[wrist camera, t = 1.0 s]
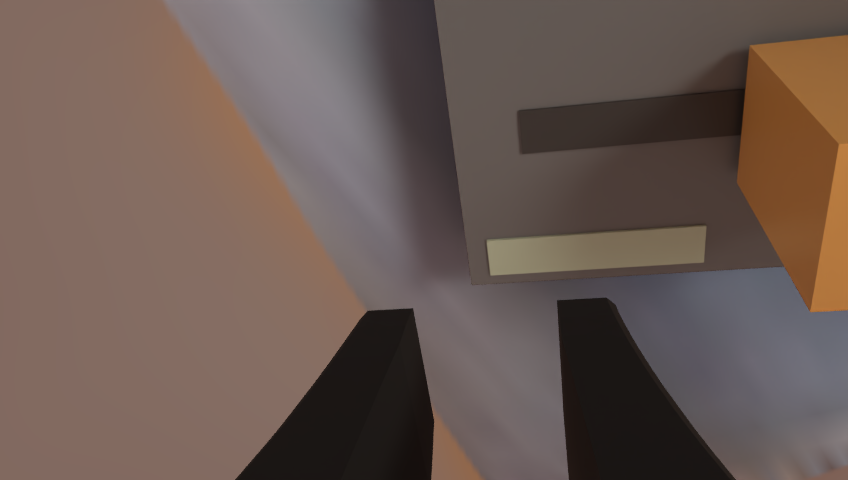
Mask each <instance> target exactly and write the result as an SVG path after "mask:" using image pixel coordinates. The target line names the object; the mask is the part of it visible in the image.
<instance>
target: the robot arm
mask: <svg viewBox="0 0 848 480" xmlns="http://www.w3.org/2000/svg"><path fill="white" fill-rule="evenodd" d="M557 307H558V324H559V341H560V359H561V376H562V393H563V411H564V425H565V437H566V449H567V461H568V473H569V480H736V479H735V478H734V477H733V476H732V474H731V473H730V472H729V471H728V470H727V468H726V467H725V466H724V465H723V464H722V462H721V461H720V460H719V459H718V458H717V456H716V455H715V454H714V453H713V452H712V450H711V449H710V448H709V447H708V445H707V444H706V443H705V441H704V440H703V439H702V438H701V436H700V435H699V434H698V432H697V431H696V430H695V429H694V427H693V426H692V425H691V423H690V422H689V421H688V419H687V418H686V416H685V415H684V414H683V412H682V411H681V410H680V408H679V407H678V406H677V404H676V403H675V401H674V400H673V399H672V397H671V396H670V395H669V393H668V392H667V390H666V389H665V388H664V386H663V385H662V383H661V382H660V380H659V379H658V377H657V376H656V375H655V373H654V372H653V370H652V369H651V367H650V365H649V364H648V362H647V361H646V359H645V358H644V356H643V354H642V353H641V351H640V350H639V348H638V346H637V345H636V343H635V341H634V340H633V338H632V336H631V335H630V333H629V331H628V329H627V328H626V326H625V324H624V322H623V320H622V318H621V316H620V314H619V312H618V310H617V307H616V305H615V304H614V303H612V302H611V301H610V300H609V299H607V298H593V299H575V300H557ZM433 431H434V419H433V412H432V407H431V402H430V396H429V391H428V386H427V381H426V375H425V370H424V365H423V359H422V354H421V349H420V343H419V338H418V333H417V328H416V322H415V317H414V312H413V308H412V309H393V310H375V311H367V312H366V313H365V315H364V316H363V317H362V318H361V319H360V320H359V322H358V323H357V325H356V326H355V328H354V329H353V330H352V332H351V333H350V334H349V336H348V337H347V339H346V340H345V342H344V343H343V344H342V346H341V347H340V349H339V350H338V351H337V353H336V354H335V356H334V357H333V358H332V360H331V361H330V363H329V364H328V365H327V367H326V368H325V369H324V371H323V372H322V373H321V375H320V376H319V378H318V379H317V380H316V382H315V383H314V384H313V386H312V387H311V388H310V389H309V391H308V392H307V393H306V395H305V396H304V397H303V399H302V400H301V401H300V402H299V404H298V405H297V406H296V408H295V409H294V410H293V412H292V413H291V414H290V415H289V416H288V418H287V419H286V420H285V422H284V423H283V424H282V425H281V427H280V428H279V429H278V430H277V432H276V433H275V434H274V435H273V436H272V438H271V439H270V440H269V441H268V442H267V444H266V445H265V446H264V447H263V448H262V449H261V451H260V452H259V453H258V454H257V455H256V456H255V458H254V459H253V460H252V461H251V462H250V463H249V464H248V466H247V467H246V468H245V469H244V470H243V471H242V473H241V474H240V475H239V476H238V477H237V478H236V479H235V480H431V472H432V454H433Z"/></svg>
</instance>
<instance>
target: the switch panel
mask: <svg viewBox="0 0 848 480" xmlns="http://www.w3.org/2000/svg"><path fill="white" fill-rule="evenodd" d="M434 5H435V12H436V20H437V27H438V35H439V42H440V50H441V57H442V65H443V73H444V80H445V88H446V95H447V103H448V110H449V118H450V125H451V133H452V140H453V148H454V156H455V163H456V171H457V178H458V186H459V193H460V201H461V208H462V216H463V223H464V231H465V239H466V246H467V254H468V261H469V269H470V276H471V284H472V285H480V284H497V283H514V282H531V281H548V280H565V279H581V278H598V277H615V276H632V275H649V274H666V273H683V272H699V271H716V270H733V269H750V268H767V267H784V265H783V263H782V261H781V260H780V258H779V256H778V254H777V253H776V251H775V249H774V247H773V245H772V244H771V242H770V240H769V238H768V237H767V235H766V233H765V231H764V230H763V228H762V226H761V224H760V223H759V221H758V219H757V217H756V216H755V214H754V212H753V210H752V208H751V207H750V205H749V203H748V201H747V200H746V198H745V196H744V194H743V193H742V191H741V189H740V187H739V186H738V184H737V175H738V164H739V153H740V143H741V132H742V121H743V111H744V100H745V89H746V79H747V68H748V57H749V47H750V45H757V44H767V43H777V42H786V41H796V40H805V39H815V38H824V37H834V36H843V35H848V0H434Z"/></svg>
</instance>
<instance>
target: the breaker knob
mask: <svg viewBox="0 0 848 480" xmlns="http://www.w3.org/2000/svg"><path fill="white" fill-rule="evenodd" d="M737 184H738V186H739V187H740V189H741V191H742V193H743V194H744V196H745V198H746V200H747V201H748V203H749V205H750V207H751V208H752V210H753V212H754V214H755V216H756V217H757V219H758V221H759V223H760V224H761V226H762V228H763V230H764V231H765V233H766V235H767V237H768V238H769V240H770V242H771V244H772V245H773V247H774V249H775V251H776V253H777V254H778V256H779V258H780V260H781V261H782V263H783V265H784V267H785V268H786V270H787V272H788V274H789V275H790V277H791V279H792V281H793V283H794V284H795V286H796V288H797V290H798V291H799V293H800V295H801V297H802V298H803V300H804V302H805V304H806V305H807V307H808V309H809V311H810V312H822V311H842V310H848V35H843V36H834V37H824V38H815V39H805V40H796V41H786V42H777V43H767V44H757V45H750V47H749V57H748V68H747V79H746V89H745V100H744V111H743V121H742V132H741V143H740V153H739V164H738V175H737Z"/></svg>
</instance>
